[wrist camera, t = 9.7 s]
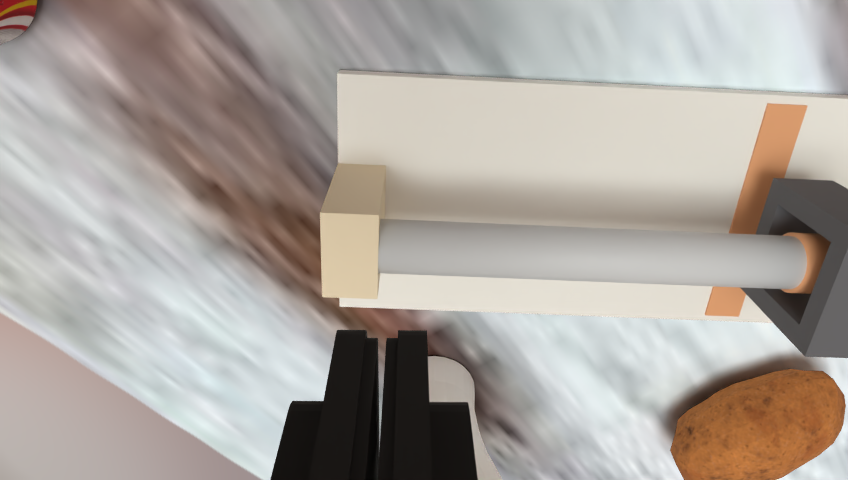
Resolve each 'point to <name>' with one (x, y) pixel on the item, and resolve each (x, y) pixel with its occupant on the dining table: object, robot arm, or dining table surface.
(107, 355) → the dining table surface
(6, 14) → the soda can
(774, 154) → the pipe stand
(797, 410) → the potato
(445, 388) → the cup
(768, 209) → the collar
